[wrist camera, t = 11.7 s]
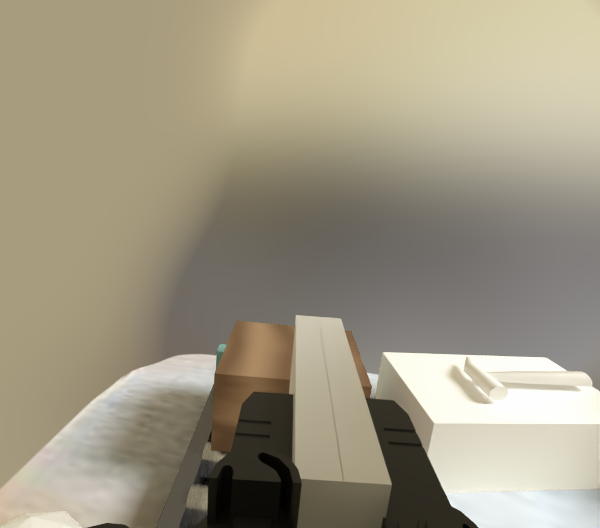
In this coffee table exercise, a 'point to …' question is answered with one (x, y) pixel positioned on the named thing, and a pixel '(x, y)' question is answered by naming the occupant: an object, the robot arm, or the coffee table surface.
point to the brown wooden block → (257, 373)
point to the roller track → (193, 477)
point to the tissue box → (498, 420)
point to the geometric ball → (43, 521)
